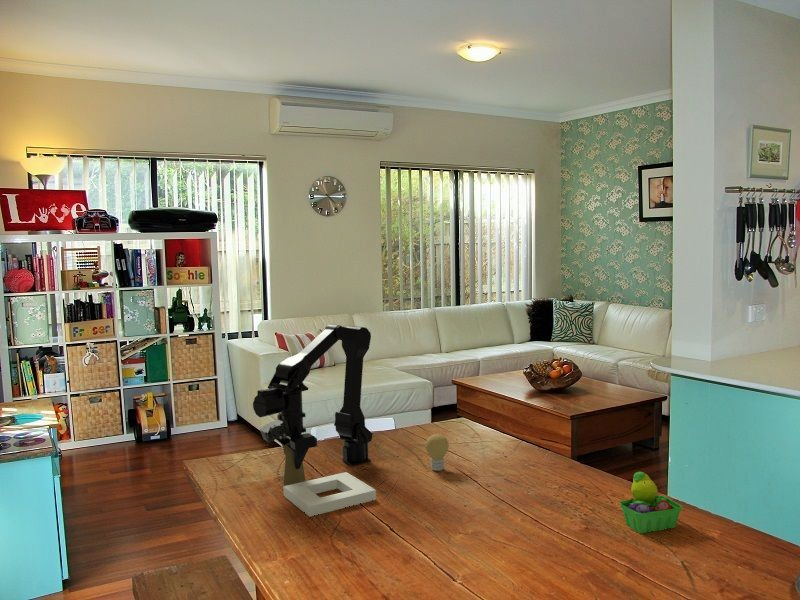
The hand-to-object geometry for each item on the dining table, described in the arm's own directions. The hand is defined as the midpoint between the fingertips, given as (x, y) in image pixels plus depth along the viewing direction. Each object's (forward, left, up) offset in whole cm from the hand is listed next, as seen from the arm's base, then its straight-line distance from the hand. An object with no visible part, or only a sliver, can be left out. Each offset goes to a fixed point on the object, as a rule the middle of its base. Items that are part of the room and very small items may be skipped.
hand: (293, 466), depth 181 cm
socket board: (-3, +15, -4) cm, 16 cm away
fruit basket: (-54, +71, -5) cm, 89 cm away
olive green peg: (0, 0, -5) cm, 5 cm away
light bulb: (-37, +14, -5) cm, 40 cm away
